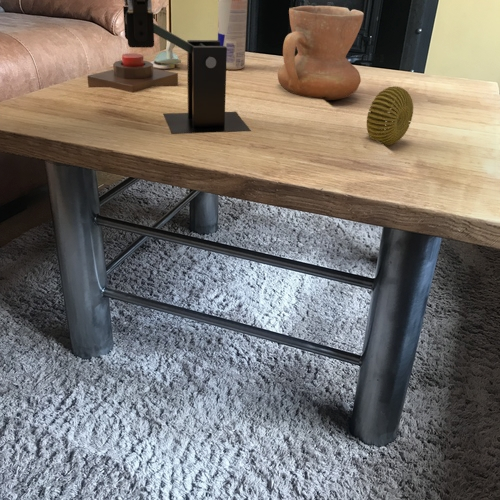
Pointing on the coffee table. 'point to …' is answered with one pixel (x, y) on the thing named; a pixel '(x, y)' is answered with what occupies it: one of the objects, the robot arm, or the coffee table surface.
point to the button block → (133, 77)
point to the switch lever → (172, 38)
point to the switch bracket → (206, 93)
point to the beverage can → (233, 31)
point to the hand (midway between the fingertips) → (139, 41)
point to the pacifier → (166, 58)
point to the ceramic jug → (320, 52)
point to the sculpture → (390, 115)
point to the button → (132, 60)
